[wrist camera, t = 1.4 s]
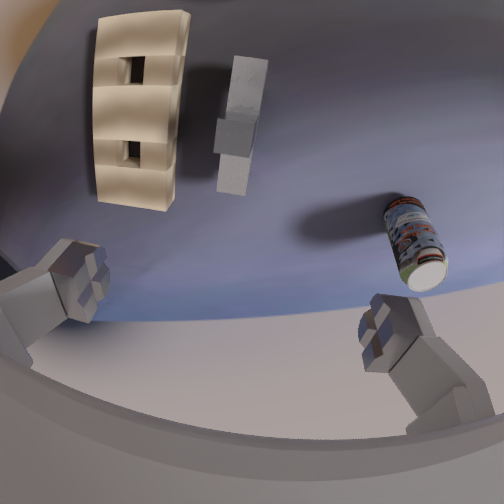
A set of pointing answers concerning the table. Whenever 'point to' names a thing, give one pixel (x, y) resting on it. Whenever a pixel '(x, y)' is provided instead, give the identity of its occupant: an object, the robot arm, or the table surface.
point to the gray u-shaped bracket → (240, 124)
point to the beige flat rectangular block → (138, 106)
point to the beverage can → (415, 244)
